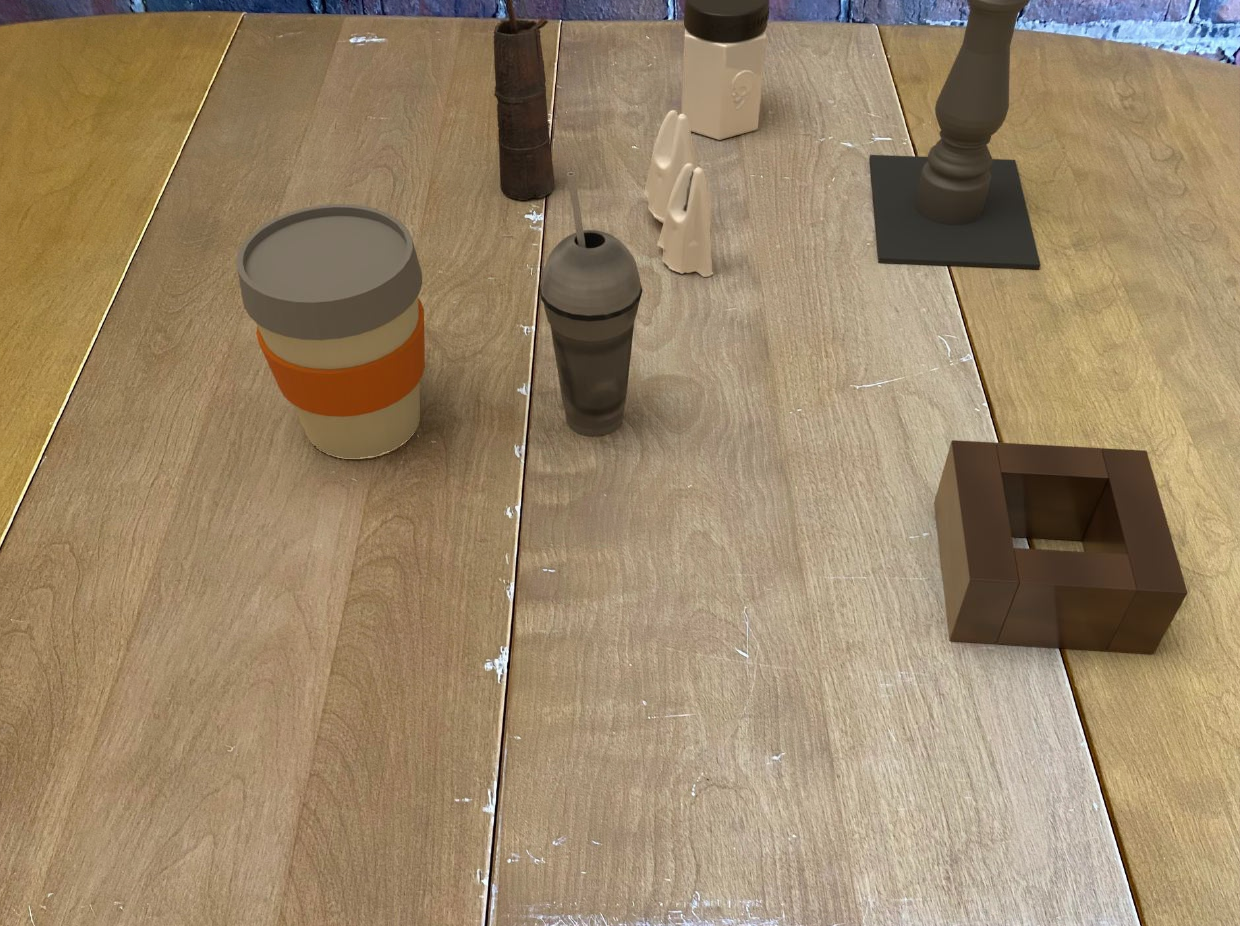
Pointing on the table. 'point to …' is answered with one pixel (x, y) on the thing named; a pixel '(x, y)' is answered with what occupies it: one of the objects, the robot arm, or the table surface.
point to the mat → (922, 241)
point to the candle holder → (970, 116)
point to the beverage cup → (591, 323)
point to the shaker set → (680, 199)
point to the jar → (723, 65)
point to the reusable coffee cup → (340, 323)
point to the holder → (1051, 579)
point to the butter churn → (522, 109)
